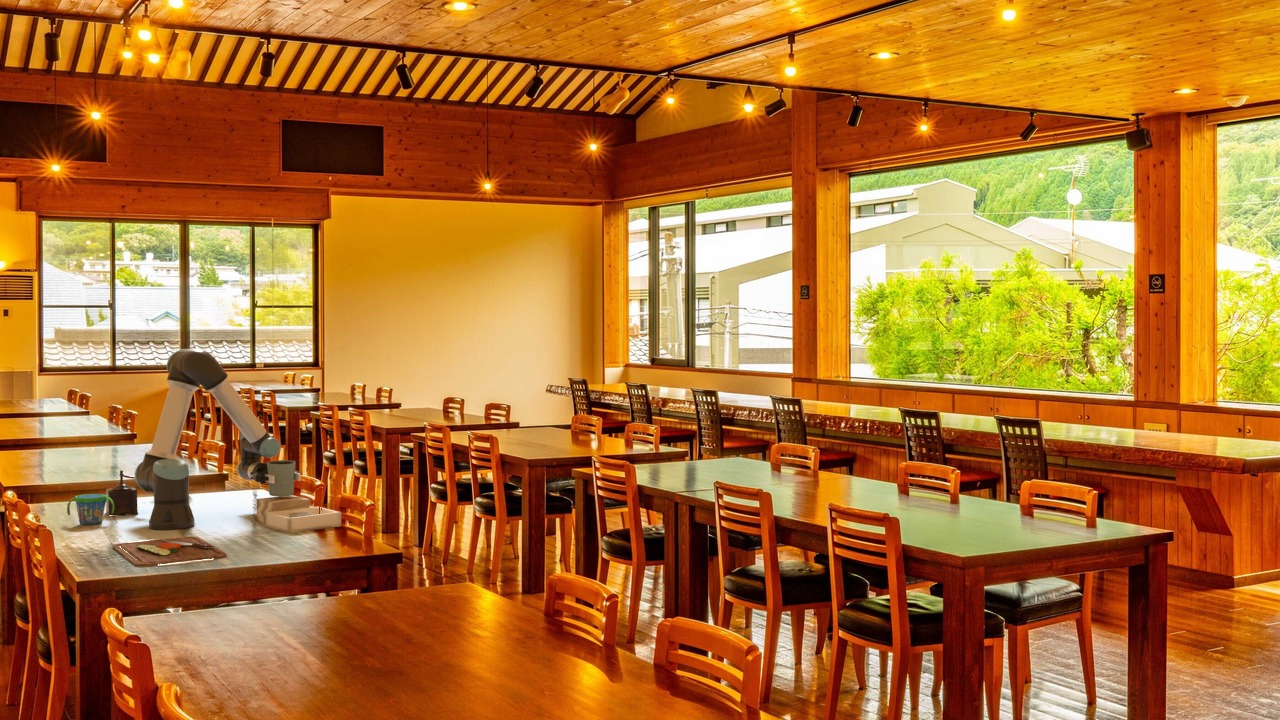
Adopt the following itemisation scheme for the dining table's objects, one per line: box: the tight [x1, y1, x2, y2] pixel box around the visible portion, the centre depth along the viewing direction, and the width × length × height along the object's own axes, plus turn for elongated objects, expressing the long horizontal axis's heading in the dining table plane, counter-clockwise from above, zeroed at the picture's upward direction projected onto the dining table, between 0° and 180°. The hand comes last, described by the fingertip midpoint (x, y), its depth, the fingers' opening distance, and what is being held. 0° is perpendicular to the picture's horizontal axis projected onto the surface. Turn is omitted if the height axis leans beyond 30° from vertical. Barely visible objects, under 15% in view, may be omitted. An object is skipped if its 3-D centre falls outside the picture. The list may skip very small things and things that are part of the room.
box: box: [265, 506, 342, 534], centre depth 424 cm, size 18×20×5 cm
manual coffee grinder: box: [105, 470, 139, 516], centre depth 455 cm, size 16×11×18 cm
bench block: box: [255, 494, 311, 524], centre depth 436 cm, size 14×14×8 cm
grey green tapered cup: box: [266, 459, 297, 497], centre depth 438 cm, size 10×10×12 cm
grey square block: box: [289, 512, 313, 518], centre depth 423 cm, size 6×6×4 cm
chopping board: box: [112, 535, 227, 567], centre depth 378 cm, size 45×27×3 cm, turn 34°
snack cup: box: [66, 493, 114, 526], centre depth 431 cm, size 16×10×10 cm
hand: (286, 478), depth 435 cm, fingers closed on grey green tapered cup, 9 cm apart
